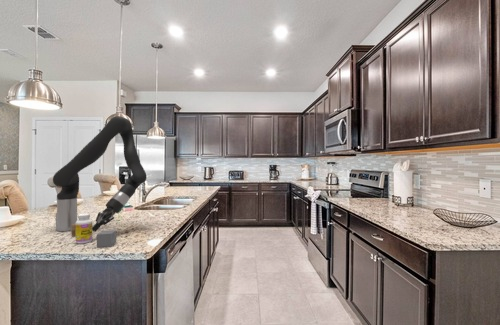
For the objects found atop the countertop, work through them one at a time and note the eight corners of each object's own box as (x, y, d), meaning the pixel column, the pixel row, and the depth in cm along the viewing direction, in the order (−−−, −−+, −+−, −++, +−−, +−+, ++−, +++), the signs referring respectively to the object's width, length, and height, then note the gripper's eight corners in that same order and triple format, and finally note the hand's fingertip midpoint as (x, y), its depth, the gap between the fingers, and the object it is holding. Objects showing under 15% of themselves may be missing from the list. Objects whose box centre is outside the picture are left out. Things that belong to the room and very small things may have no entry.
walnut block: (71, 237, 126) (71, 225, 126) (77, 233, 132) (77, 222, 132) (84, 236, 128) (84, 224, 127) (90, 232, 133) (89, 221, 133)
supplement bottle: (79, 245, 114) (79, 216, 114) (73, 242, 117) (72, 215, 117) (95, 241, 119) (94, 214, 119) (88, 238, 123) (88, 212, 123)
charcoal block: (96, 248, 110) (96, 234, 110) (102, 243, 116) (102, 230, 116) (111, 247, 111) (111, 233, 111) (116, 242, 117) (116, 229, 117)
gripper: (106, 196, 133) (80, 224, 123) (119, 198, 125) (93, 228, 116) (116, 205, 137) (92, 232, 128) (129, 207, 130) (105, 237, 120)
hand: (93, 230), depth 122 cm, fingers closed
